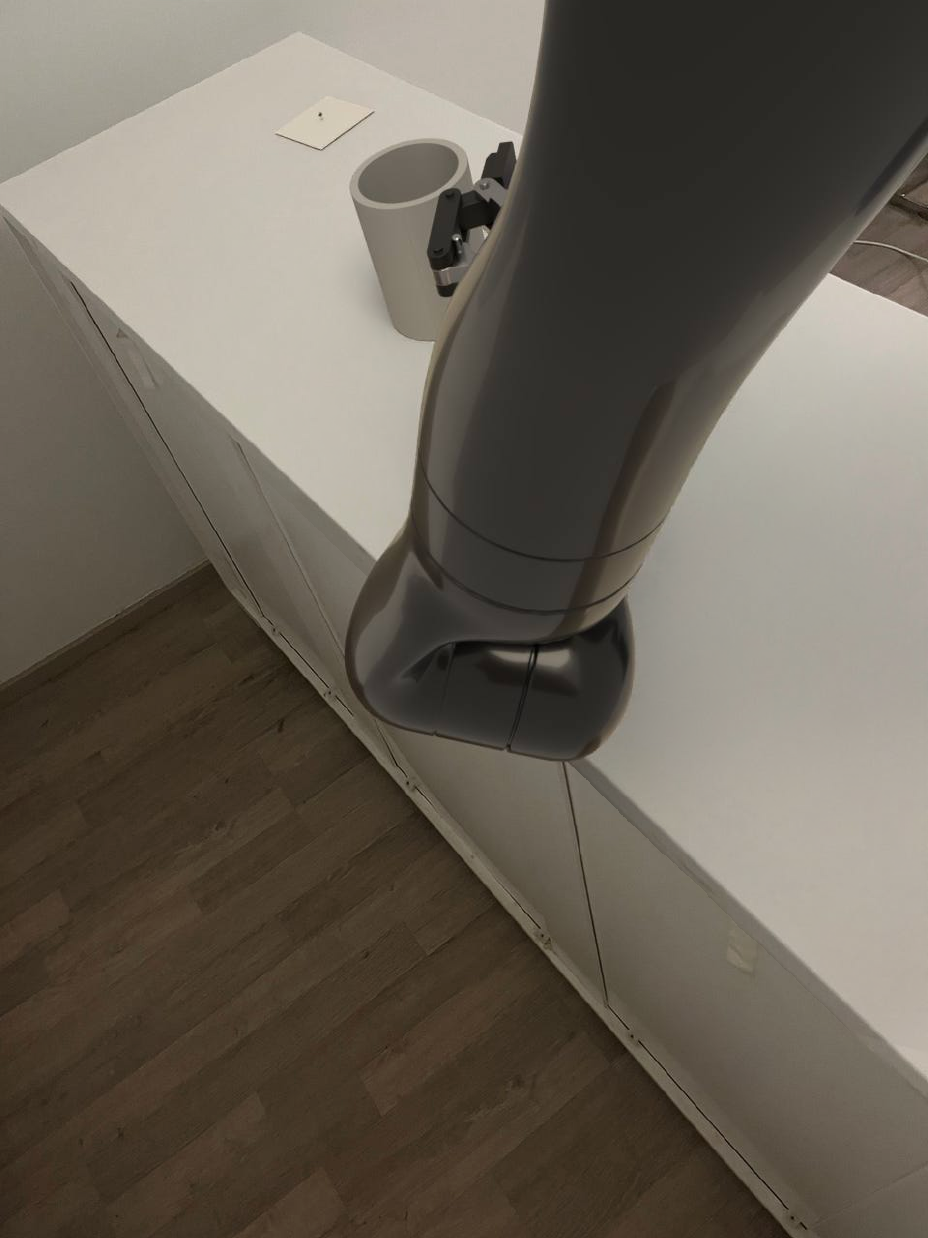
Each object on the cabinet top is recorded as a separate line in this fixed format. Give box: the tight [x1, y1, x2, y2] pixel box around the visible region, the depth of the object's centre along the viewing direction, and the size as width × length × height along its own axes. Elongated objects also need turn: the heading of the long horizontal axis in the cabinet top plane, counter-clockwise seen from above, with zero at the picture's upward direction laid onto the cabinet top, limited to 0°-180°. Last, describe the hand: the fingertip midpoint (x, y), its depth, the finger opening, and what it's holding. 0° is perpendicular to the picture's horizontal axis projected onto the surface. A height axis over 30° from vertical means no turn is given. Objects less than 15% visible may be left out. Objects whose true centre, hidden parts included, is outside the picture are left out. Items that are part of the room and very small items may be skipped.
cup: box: [348, 137, 486, 342], centre depth 77 cm, size 9×9×12 cm
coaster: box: [274, 95, 375, 150], centre depth 104 cm, size 8×8×1 cm
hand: (585, 148), depth 53 cm, fingers open, 8 cm apart
